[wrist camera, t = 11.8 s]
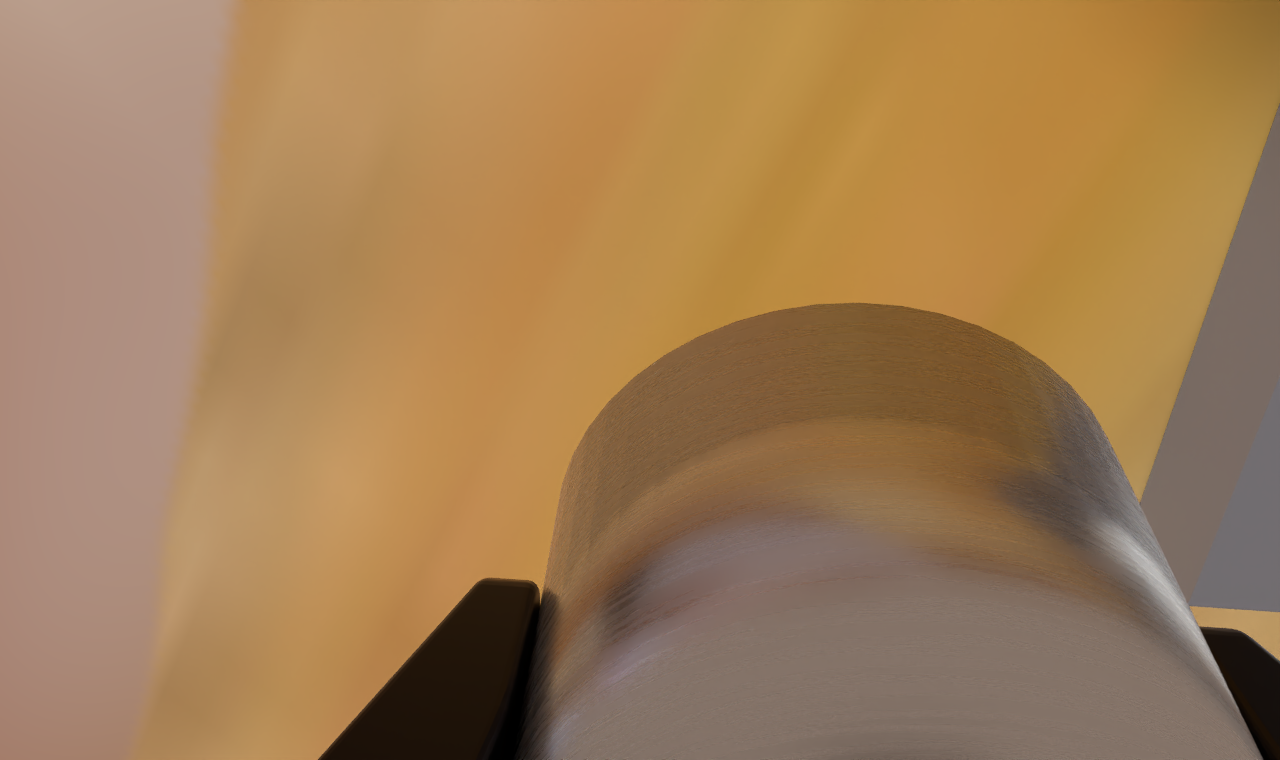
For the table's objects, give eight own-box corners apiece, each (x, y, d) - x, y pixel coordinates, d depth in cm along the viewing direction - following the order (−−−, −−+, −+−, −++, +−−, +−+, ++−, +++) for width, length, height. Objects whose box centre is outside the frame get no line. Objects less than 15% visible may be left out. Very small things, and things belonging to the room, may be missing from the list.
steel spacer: (852, 803, 11) (912, 1326, 8) (451, 574, 10) (310, 1083, 6) (1249, 517, 9) (1574, 1060, 6) (806, 181, 8) (879, 619, 4)
